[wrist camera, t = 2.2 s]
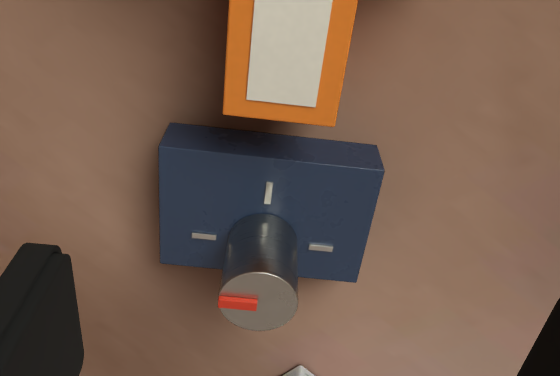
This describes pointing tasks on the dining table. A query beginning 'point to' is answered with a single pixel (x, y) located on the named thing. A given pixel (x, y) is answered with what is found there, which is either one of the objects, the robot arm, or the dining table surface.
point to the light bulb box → (299, 372)
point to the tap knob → (260, 273)
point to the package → (287, 59)
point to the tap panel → (266, 195)
